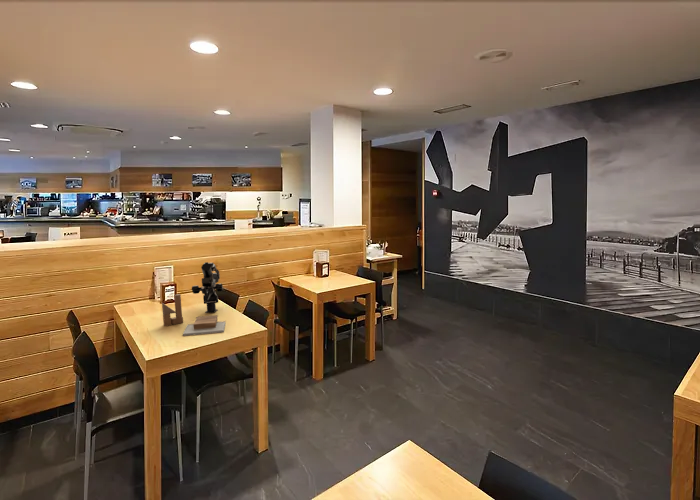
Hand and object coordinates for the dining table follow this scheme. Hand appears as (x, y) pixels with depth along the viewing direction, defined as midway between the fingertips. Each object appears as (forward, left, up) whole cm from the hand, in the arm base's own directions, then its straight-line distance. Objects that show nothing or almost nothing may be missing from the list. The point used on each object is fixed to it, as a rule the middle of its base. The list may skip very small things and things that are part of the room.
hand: (207, 300), depth 253 cm
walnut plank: (+8, +2, -10) cm, 13 cm away
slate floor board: (+19, +5, -13) cm, 24 cm away
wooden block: (+9, -18, -13) cm, 24 cm away
